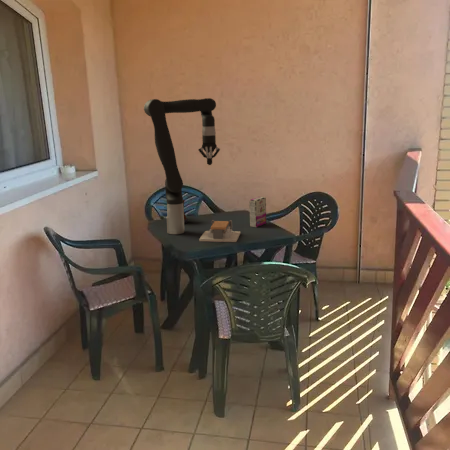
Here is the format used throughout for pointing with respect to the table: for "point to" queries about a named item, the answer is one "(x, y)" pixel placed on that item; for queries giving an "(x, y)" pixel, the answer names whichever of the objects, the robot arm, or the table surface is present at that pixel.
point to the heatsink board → (225, 236)
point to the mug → (184, 214)
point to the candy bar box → (257, 211)
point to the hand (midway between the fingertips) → (209, 164)
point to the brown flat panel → (220, 225)
